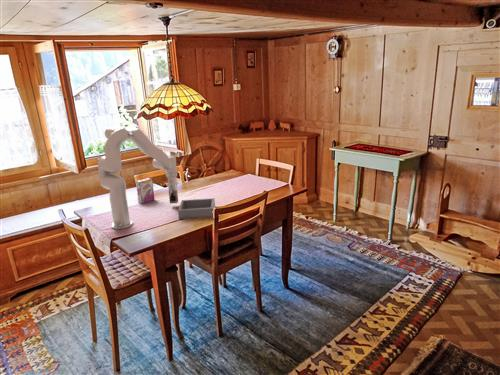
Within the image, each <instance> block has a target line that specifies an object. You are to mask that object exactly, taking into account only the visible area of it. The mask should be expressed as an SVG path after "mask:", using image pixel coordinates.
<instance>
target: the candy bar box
mask: <svg viewBox="0 0 500 375" xmlns="http://www.w3.org/2000/svg"><path fill="white" fill-rule="evenodd" d="M135 185H136V192H137V201H138V203H139V204H140V205H141V204H142V205H143V204H146V203H149V202H152V201H154V200H155V193H154V192H155V191H154V183H153V178H151V177H147V178H144V179H139V180H136V181H135Z"/></svg>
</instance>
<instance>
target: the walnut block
mask: <svg viewBox="0 0 500 375" xmlns="http://www.w3.org/2000/svg"><path fill="white" fill-rule="evenodd" d="M172 191H174V190H172ZM174 192H175V199H176V201H171V198H170V191H169V190H168V197H169V204H178V203H179V194H178V189H177V190H176V191H174ZM174 192H173V193H174Z"/></svg>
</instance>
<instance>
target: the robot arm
mask: <svg viewBox="0 0 500 375" xmlns="http://www.w3.org/2000/svg"><path fill="white" fill-rule="evenodd" d="M104 135H105V138H106V142H105V144H104V155H103V156H101V157H100V158H99V159H98V162H97V171H98V172H97V173H98V180H99V183H100V186H101V187H102V188H103V189H106V190H109V203H110V208H111V215H112V221H113V222H112V223H111V228H112V229H114V230H123V229H127V228H130V227H131V226H133V225H134V221H133V220H132V219H131V218H130V212H129V204H128V200H127V198H128V197H127V183H126V180H125V178H124V177H122V176H120V175H117V174H119V173H120V172H121V170H122V168H123V167H122V158H121V157H122V156H121V146H122V145H123V143H124V142H132V143H133V144H134V145H135V146H136V147H137V148H138V150H139V151H140V152H141V153H143V155H144V154H145V155H146V156H148V157H150V158H152V159H153V160H152V162H151V163H152V166H153V168H155V169H158V170H163V171H165V177H166V178H167V185H168V186H167V187H168V192H169V191H170V198H171V201H176V199H175V192H174V191H176V190H177V191H178V188H179V185H178V178H177V177H178V168H177V159H176V156H175V155H167V153H166V152H164V151H163V150H161V148H159V147H158V146H157V145H155V144H153V142H152V140H150V139H149V137H148V136H147V135H146V133H144V132H143V131H142V129H141V128H137V127H131V126H130V127H128V126H125V127H123V126H114V125H113V126H108V127H106V129H105V130H104ZM172 190H174V191H172ZM173 192H174V193H173Z"/></svg>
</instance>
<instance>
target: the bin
mask: <svg viewBox="0 0 500 375" xmlns="http://www.w3.org/2000/svg"><path fill="white" fill-rule="evenodd" d="M214 207H215V208H216V200H215V198H200V199H199V198H198V199H196V198H195V199H183V200H181V202H180V204H179V207H178V209H177V214H178V220H189V219H190V220H191V219H205V218H207V219H208V218H209V219H210V218H214V217H213V213H212V211H213V208H214Z"/></svg>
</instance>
